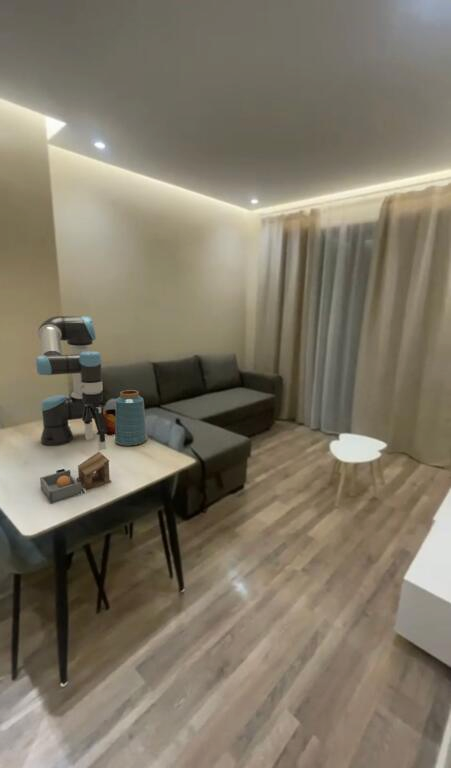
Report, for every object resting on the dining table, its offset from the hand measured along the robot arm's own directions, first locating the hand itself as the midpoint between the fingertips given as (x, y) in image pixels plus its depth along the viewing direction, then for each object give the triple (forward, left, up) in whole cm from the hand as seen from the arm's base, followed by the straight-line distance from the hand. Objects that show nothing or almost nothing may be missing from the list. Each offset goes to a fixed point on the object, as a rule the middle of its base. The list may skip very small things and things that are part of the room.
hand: (95, 443), depth 137 cm
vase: (-31, +30, -16) cm, 46 cm away
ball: (0, -13, -12) cm, 18 cm away
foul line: (0, -8, -16) cm, 17 cm away
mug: (-50, +29, -16) cm, 60 cm away
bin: (0, -14, -16) cm, 21 cm away
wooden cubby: (0, -2, -16) cm, 16 cm away
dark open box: (-12, -10, -16) cm, 22 cm away
